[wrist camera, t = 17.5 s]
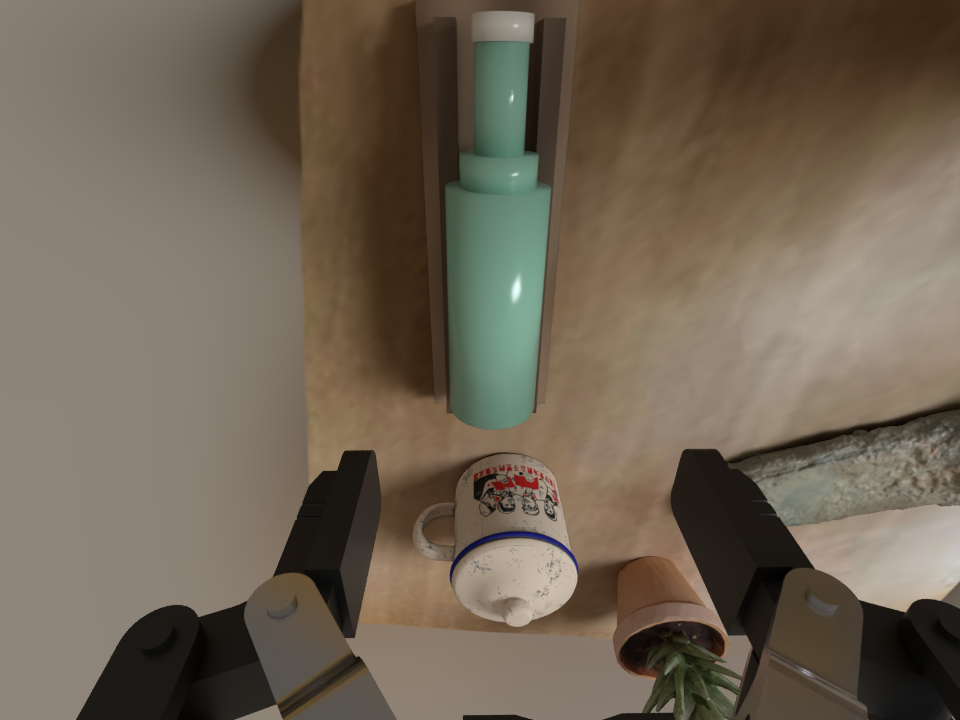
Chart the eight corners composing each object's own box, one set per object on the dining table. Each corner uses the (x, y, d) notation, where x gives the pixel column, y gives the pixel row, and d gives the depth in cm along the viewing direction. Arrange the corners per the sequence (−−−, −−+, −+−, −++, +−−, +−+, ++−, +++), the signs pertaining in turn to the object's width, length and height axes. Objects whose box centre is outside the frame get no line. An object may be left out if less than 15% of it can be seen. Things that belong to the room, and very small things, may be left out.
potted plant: (587, 603, 51) (672, 988, 30) (613, 540, 46) (737, 944, 25) (680, 610, 52) (828, 989, 30) (715, 549, 47) (919, 947, 26)
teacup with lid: (570, 454, 41) (603, 580, 31) (547, 530, 45) (569, 662, 35) (423, 439, 40) (408, 565, 30) (414, 519, 44) (399, 652, 34)
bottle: (446, 428, 29) (434, 6, 19) (453, 380, 33) (447, 19, 23) (536, 430, 29) (572, 8, 19) (531, 382, 33) (558, 20, 23)
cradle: (574, 1, 25) (591, -10, 22) (542, 391, 38) (549, 424, 34) (417, -1, 25) (409, -12, 22) (435, 392, 37) (432, 425, 34)
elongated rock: (675, 441, 42) (683, 515, 48) (696, 490, 38) (702, 565, 43) (1168, 347, 36) (1114, 443, 42) (1261, 391, 32) (1187, 493, 37)
